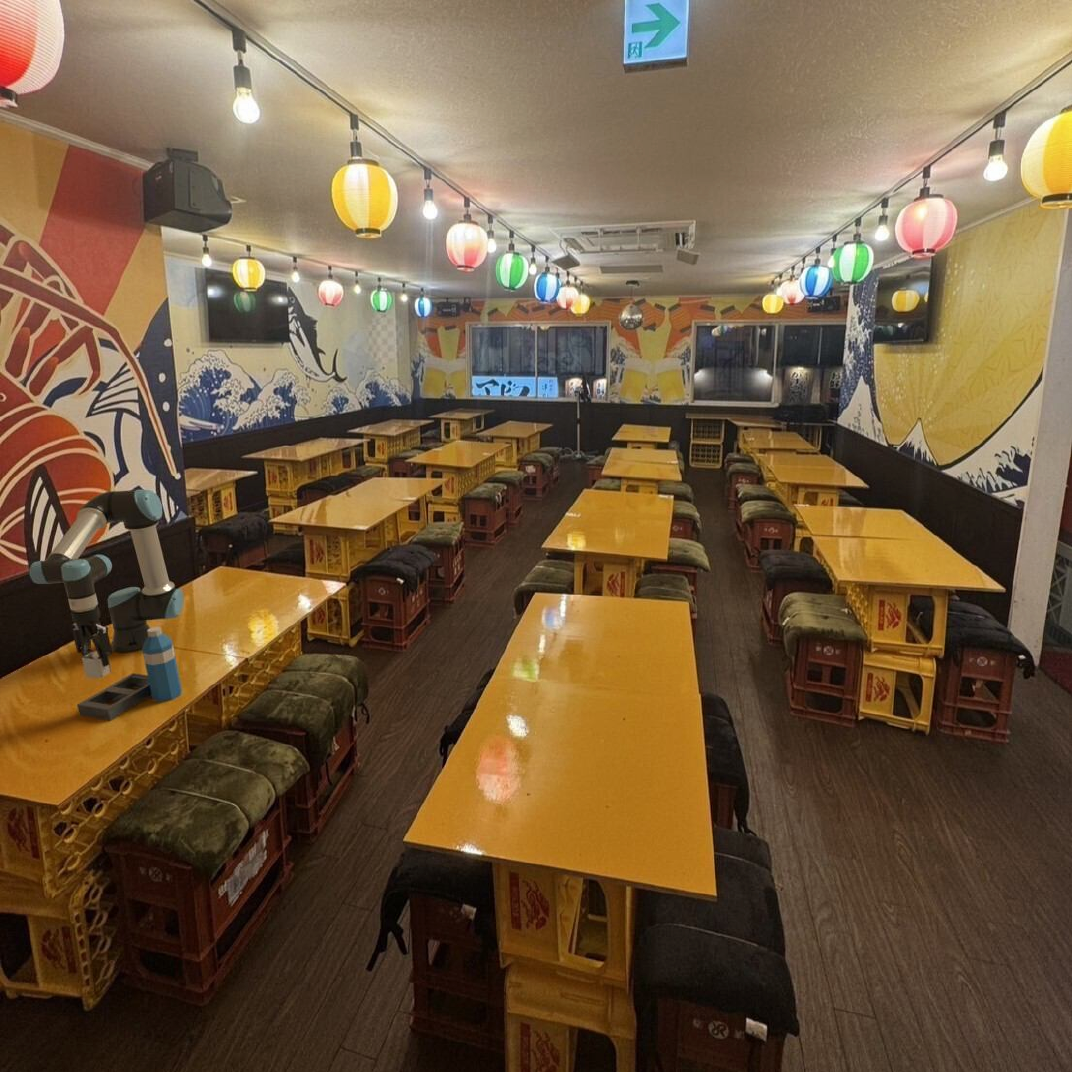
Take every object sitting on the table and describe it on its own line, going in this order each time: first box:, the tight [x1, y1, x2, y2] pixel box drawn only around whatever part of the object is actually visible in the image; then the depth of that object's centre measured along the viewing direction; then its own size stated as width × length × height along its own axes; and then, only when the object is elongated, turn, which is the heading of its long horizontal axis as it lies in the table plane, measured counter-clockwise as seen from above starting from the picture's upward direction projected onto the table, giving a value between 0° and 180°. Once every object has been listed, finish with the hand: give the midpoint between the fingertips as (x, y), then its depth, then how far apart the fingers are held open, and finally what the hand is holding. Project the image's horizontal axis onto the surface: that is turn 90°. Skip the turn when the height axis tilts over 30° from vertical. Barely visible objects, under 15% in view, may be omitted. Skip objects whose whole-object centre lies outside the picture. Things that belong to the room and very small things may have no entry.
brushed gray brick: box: [81, 650, 112, 680], centre depth 222 cm, size 5×5×7 cm
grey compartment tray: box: [76, 672, 152, 721], centre depth 231 cm, size 22×13×4 cm, turn 163°
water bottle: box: [141, 626, 183, 703], centre depth 231 cm, size 9×9×25 cm
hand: (99, 673), depth 224 cm, fingers closed on brushed gray brick, 5 cm apart
